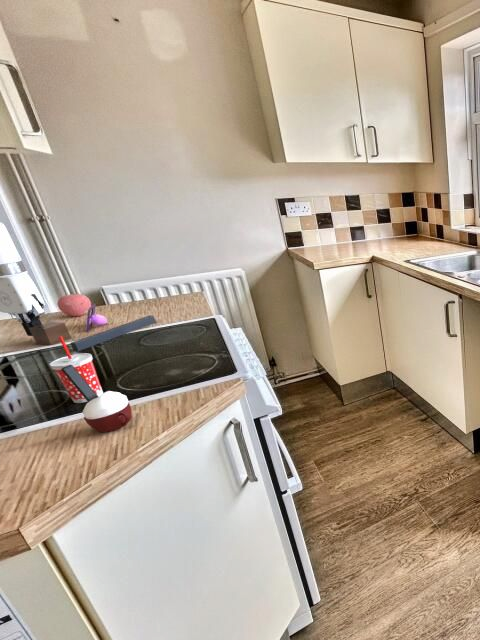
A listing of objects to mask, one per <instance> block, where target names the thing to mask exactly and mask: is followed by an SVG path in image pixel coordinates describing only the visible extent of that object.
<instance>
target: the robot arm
mask: <svg viewBox="0 0 480 640" xmlns="http://www.w3.org/2000/svg"><path fill="white" fill-rule="evenodd" d="M28 273H29V272H28V270H27V268H26V266H25V264H24V262H23V259H22V258H21V255H20V253H19V251H18V249H17V248H16V246H15V243H14V241H13V239H12V236H11V234H10V233H9V231H8V229H7V227H6V225H5V224H4V223H3V222H1V221H0V312H1V313H4V314H8V315H11V316H14V317H15V318H16V319H17V322H18V323H20V324H21V326H22V328H23V330H24V332H25V334H26V336H28V337H33V336H32V333H31V331H30V329H29V328H31V327H34V326H37V325H41V324H43V323H42V321H41V319H42V318H41V315H44V314H45V311H44V309H45V307H46V304H45V301H44V299H43V297H42V295H41V292H40V291H39V288H37V286H36V284H35V282H34V281H33V279H32V278H31V277H30V275H29V274H28Z"/></svg>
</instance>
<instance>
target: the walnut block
mask: <svg viewBox="0 0 480 640" xmlns="http://www.w3.org/2000/svg"><path fill="white" fill-rule="evenodd" d="M29 329H30V331H31V333H32V336H31V337H33V339H34V342H35V344H36V345H44V346H53V345H55V344H59V343H61V341H60V339H59V336H62V338H63V340H64V342H65V341H67V340H71V339H72V336H71V334H70V331H69V329H68V327H67V325H66V323H65V322H64V321H63V322H60V321H48V322H44V323H42V324H41V325H37V326H34V327H31V328H29Z"/></svg>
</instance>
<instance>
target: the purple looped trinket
mask: <svg viewBox="0 0 480 640" xmlns="http://www.w3.org/2000/svg"><path fill="white" fill-rule="evenodd" d="M85 315H86V316H87V317H86V320H85V329H86V333H88V332H90V330H91V329H92V327H93V326H94V325H95V326H105V324H106V325H111V323H110V322H108V319H107V318H106V317H105V316H103V315H101V314H99V313H96V303H94V302H93V303H92V304H91V307H90V308H89V310H88V311H85Z"/></svg>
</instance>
